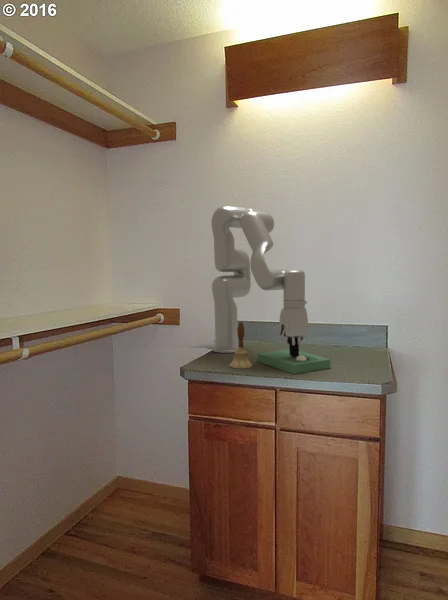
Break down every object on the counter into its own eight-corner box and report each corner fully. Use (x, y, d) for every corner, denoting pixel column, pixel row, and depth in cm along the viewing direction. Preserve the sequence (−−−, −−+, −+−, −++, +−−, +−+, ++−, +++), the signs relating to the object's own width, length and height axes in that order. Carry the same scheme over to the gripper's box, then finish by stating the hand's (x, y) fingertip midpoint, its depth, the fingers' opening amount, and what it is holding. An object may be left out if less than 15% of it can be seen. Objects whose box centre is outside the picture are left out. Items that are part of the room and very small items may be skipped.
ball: (292, 364, 154) (294, 353, 154) (301, 364, 156) (303, 354, 155) (298, 368, 151) (300, 357, 150) (307, 368, 152) (310, 357, 152)
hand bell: (256, 364, 158) (255, 321, 157) (245, 369, 151) (245, 324, 150) (236, 362, 162) (235, 320, 161) (225, 367, 155) (224, 323, 154)
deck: (257, 361, 164) (257, 353, 163) (291, 356, 171) (291, 348, 171) (293, 374, 144) (293, 365, 144) (330, 367, 152) (330, 359, 152)
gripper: (303, 302, 162) (303, 351, 163) (270, 305, 155) (271, 356, 156) (317, 304, 155) (317, 355, 157) (283, 307, 148) (283, 360, 150)
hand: (294, 355), depth 157 cm, fingers closed
